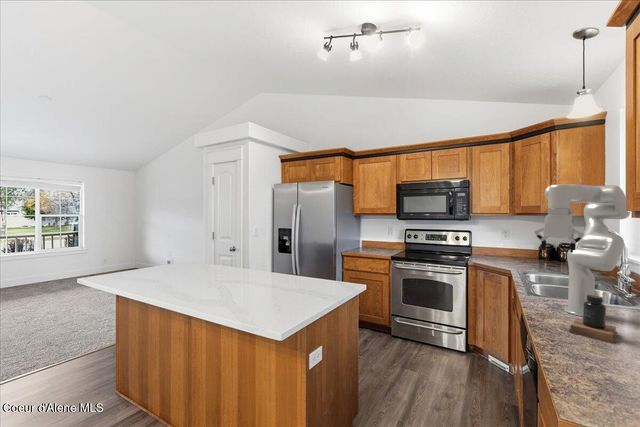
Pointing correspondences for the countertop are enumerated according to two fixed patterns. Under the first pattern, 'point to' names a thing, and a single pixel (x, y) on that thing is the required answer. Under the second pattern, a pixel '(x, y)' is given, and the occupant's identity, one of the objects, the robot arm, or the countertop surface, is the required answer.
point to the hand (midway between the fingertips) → (557, 250)
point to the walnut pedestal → (594, 331)
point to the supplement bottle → (594, 312)
